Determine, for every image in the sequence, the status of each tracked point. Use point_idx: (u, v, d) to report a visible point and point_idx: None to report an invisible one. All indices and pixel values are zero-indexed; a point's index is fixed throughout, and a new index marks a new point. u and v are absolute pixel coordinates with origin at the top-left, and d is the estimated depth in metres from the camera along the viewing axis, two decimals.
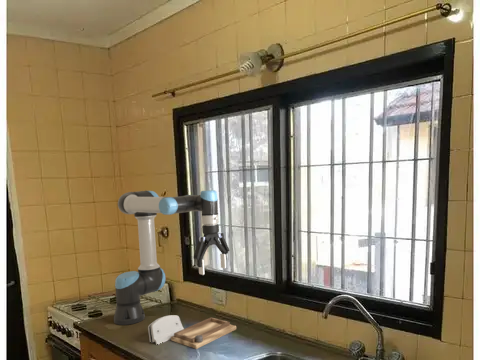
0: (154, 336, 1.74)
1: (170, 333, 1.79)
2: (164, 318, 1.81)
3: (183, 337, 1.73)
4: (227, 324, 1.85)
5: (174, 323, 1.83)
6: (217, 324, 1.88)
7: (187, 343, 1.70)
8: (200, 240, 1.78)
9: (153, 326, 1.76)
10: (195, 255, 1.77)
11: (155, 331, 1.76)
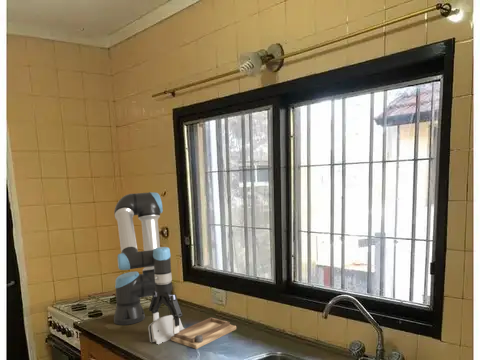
0: (154, 336, 1.75)
1: (170, 333, 1.80)
2: (164, 318, 1.81)
3: (183, 337, 1.73)
4: (227, 324, 1.85)
5: None
6: (217, 324, 1.88)
7: (187, 343, 1.70)
8: None
9: (153, 326, 1.76)
10: None
11: (156, 330, 1.76)
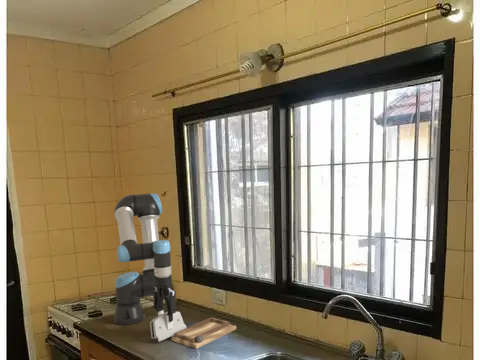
0: (156, 332, 1.74)
1: (172, 329, 1.80)
2: None
3: (183, 337, 1.73)
4: (227, 324, 1.85)
5: (176, 319, 1.83)
6: (217, 324, 1.88)
7: (187, 343, 1.70)
8: None
9: (155, 322, 1.75)
10: None
11: (157, 327, 1.76)
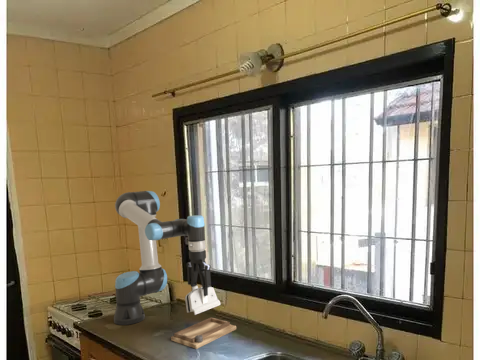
0: (192, 306, 1.74)
1: (206, 304, 1.80)
2: None
3: (183, 337, 1.73)
4: (227, 324, 1.85)
5: (210, 294, 1.84)
6: (217, 324, 1.88)
7: (187, 343, 1.70)
8: None
9: (191, 296, 1.76)
10: None
11: (193, 301, 1.76)
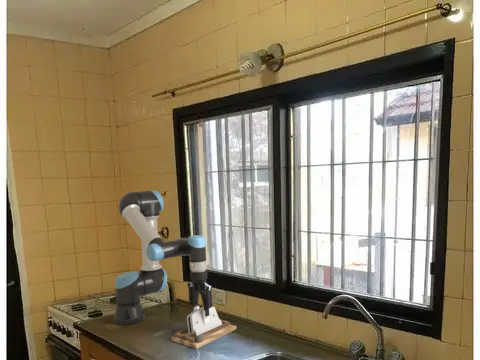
0: (193, 327, 1.74)
1: (208, 324, 1.80)
2: (202, 309, 1.81)
3: (183, 337, 1.73)
4: (227, 324, 1.85)
5: (211, 314, 1.84)
6: None
7: (187, 343, 1.70)
8: None
9: (192, 317, 1.76)
10: None
11: (194, 321, 1.76)
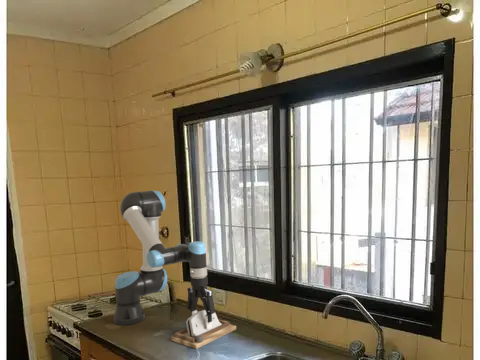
0: (193, 330, 1.74)
1: None
2: (201, 312, 1.80)
3: (183, 337, 1.73)
4: (227, 324, 1.85)
5: None
6: None
7: (187, 343, 1.70)
8: None
9: (192, 320, 1.75)
10: None
11: (194, 325, 1.75)
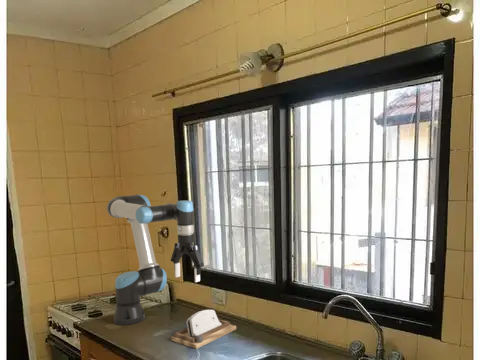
0: (193, 330, 1.74)
1: (208, 327, 1.79)
2: (202, 312, 1.80)
3: (183, 337, 1.73)
4: (227, 324, 1.85)
5: (211, 317, 1.83)
6: None
7: (187, 343, 1.70)
8: None
9: (192, 320, 1.75)
10: None
11: (194, 325, 1.75)
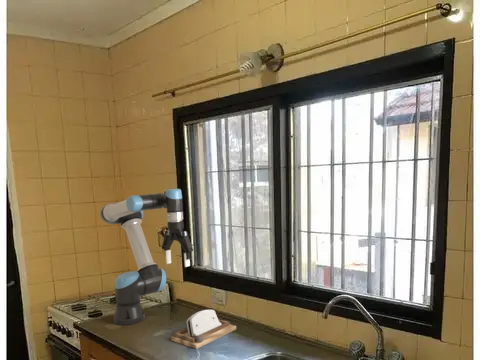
0: (194, 330, 1.74)
1: (208, 327, 1.79)
2: (202, 312, 1.81)
3: (183, 337, 1.73)
4: (227, 324, 1.85)
5: (211, 317, 1.83)
6: None
7: (187, 343, 1.70)
8: None
9: (192, 320, 1.75)
10: None
11: (194, 325, 1.75)
